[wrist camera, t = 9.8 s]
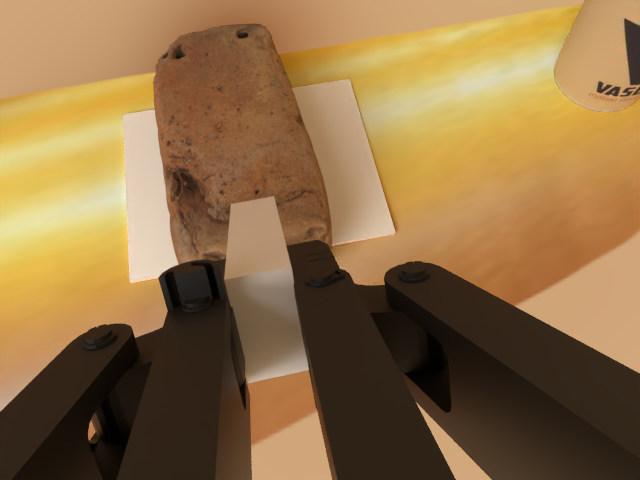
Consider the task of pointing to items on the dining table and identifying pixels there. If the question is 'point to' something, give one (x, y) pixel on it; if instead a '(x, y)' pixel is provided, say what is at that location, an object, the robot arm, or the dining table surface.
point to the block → (233, 140)
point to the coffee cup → (602, 56)
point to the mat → (332, 155)
